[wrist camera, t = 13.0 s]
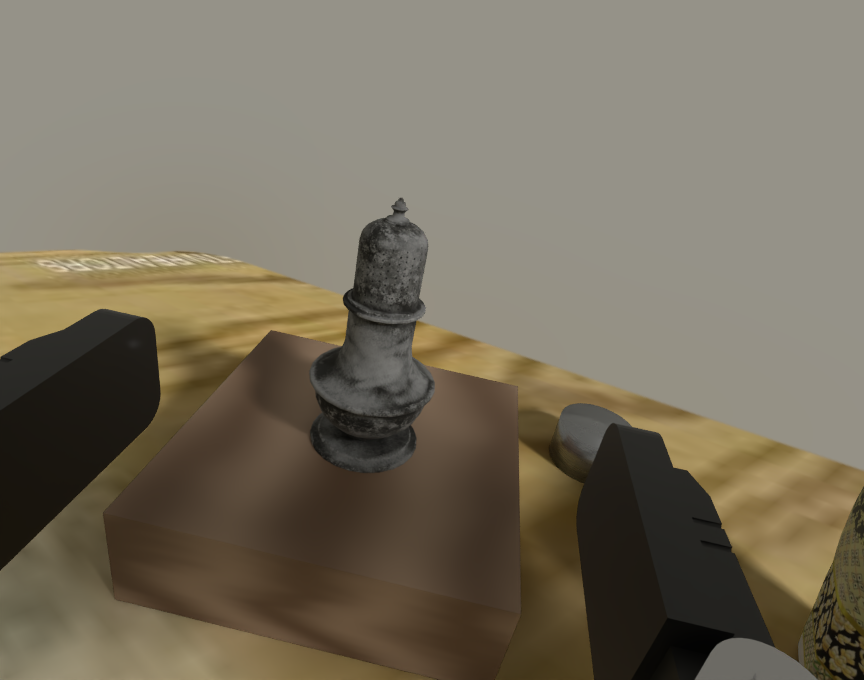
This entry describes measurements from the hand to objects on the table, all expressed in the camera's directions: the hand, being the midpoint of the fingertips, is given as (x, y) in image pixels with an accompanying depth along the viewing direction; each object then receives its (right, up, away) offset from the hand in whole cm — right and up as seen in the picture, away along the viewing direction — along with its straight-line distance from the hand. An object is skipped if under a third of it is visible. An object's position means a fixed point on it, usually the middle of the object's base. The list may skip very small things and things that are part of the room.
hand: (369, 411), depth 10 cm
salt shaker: (-2, -4, +18) cm, 18 cm away
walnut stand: (-3, -8, +20) cm, 22 cm away
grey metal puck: (+12, -7, +28) cm, 31 cm away
